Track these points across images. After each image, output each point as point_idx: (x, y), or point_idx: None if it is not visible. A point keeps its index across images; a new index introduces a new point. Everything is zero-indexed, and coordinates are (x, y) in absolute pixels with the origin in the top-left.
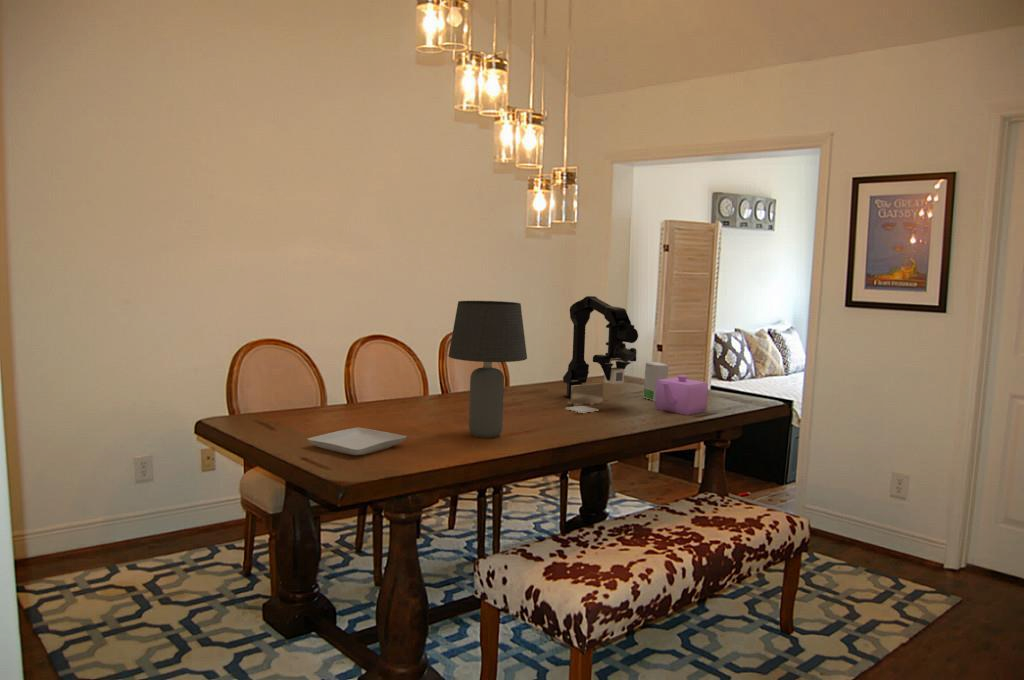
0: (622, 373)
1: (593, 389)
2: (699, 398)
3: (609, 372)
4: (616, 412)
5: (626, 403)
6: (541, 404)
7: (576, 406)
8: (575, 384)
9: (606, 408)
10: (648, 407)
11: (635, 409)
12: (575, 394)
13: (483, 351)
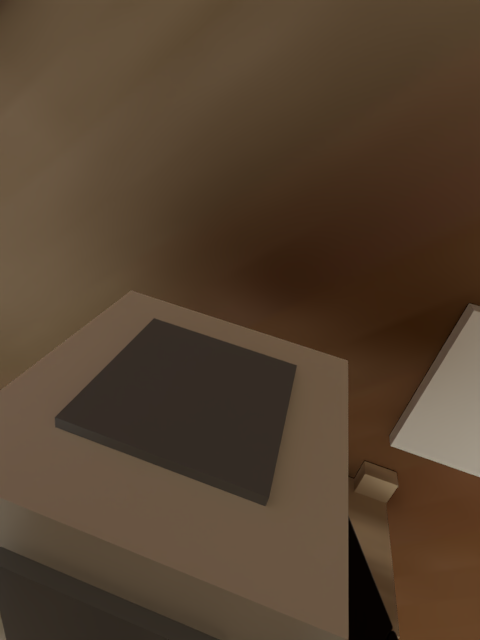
0: (76, 400)
1: None
2: None
3: (369, 625)
4: (400, 174)
5: (44, 297)
6: (460, 607)
7: (458, 465)
8: None
9: (296, 315)
10: (4, 102)
11: (152, 130)
12: (371, 553)
13: None
